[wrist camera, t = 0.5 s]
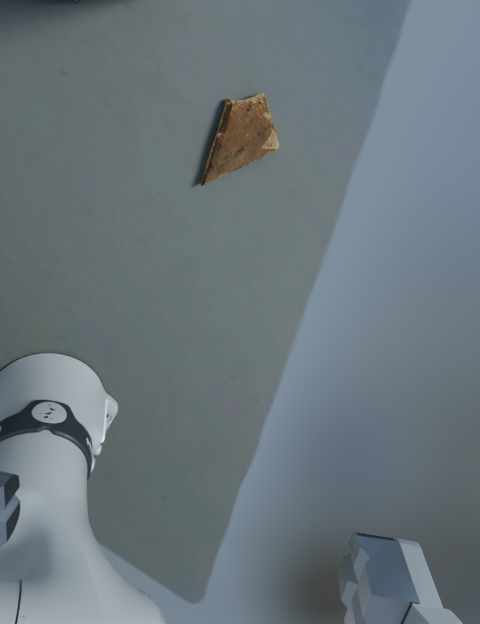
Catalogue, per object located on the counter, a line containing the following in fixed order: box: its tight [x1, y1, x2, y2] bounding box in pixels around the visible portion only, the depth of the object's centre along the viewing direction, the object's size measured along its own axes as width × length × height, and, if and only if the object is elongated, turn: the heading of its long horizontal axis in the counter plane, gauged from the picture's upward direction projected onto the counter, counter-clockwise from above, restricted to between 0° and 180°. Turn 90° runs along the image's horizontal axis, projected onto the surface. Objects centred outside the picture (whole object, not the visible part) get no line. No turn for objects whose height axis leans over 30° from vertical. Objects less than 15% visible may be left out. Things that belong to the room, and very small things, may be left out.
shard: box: [201, 93, 279, 186], centre depth 53 cm, size 11×8×2 cm
